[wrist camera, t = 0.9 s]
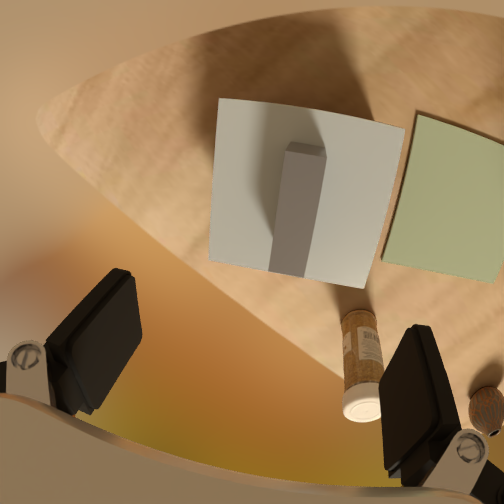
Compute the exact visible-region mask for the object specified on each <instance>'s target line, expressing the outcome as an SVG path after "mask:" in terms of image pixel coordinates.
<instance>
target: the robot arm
mask: <svg viewBox="0 0 504 504" xmlns="http://www.w3.org/2000/svg"><path fill="white" fill-rule="evenodd" d="M141 339H142V328H141V322H140V315H139V307H138V301H137V292H136V283H135V278H134V277H133V276H131V273H130V272H129V271H126V270H122V269H118V268H114V269H112V270H111V271H110V272H109V273H108V274H107V275H106V276H105V277H104V278H103V279H102V280H101V281H100V282H99V283H98V284H97V285H96V286H95V287H94V288H93V289H92V290H91V292H90V293H89V294H88V295H87V296H86V297H85V298H84V299H83V300H82V301H81V302H80V303H79V304H78V305H77V306H76V307H75V309H73V310H72V312H71V313H70V314H69V315H68V316H67V317H66V318H65V319H64V320H63V321H62V323H61V324H60V325H59V326H58V327H57V328H56V329H55V330H54V331H53V332H52V334H51V335H50V336H49V337H48V338H47V339H46V343H45V344H44V345H43V346H42V344H40V343H39V342H37V341H33V340H30V341H23V342H20V343H19V344H17V345H15V346H14V347H13V348H12V349H11V351H10V352H9V354H8V357H7V361H4V362H0V504H504V473H503V472H502V471H501V470H500V469H499V468H497V467H496V466H495V465H494V464H492V463H491V462H490V461H489V460H487V458H488V454H489V447H488V444H487V441H486V440H485V438H484V437H483V436H482V435H481V434H480V433H479V432H477V431H475V430H473V429H463V430H462V428H461V424H460V420H459V416H458V412H457V408H456V405H455V401H454V397H453V394H452V390H451V387H450V383H449V380H448V377H447V373H446V370H445V368H444V365H443V362H442V359H441V356H440V353H439V350H438V347H437V344H436V341H435V338H434V335H433V332H432V330H431V328H430V326H425V325H418V324H414V325H413V326H412V327H411V328H407V330H406V331H405V333H404V335H403V337H402V339H401V341H400V343H399V345H398V347H397V349H396V351H395V353H394V355H393V357H392V359H391V361H390V363H389V364H388V366H387V368H386V370H385V372H384V374H383V375H382V377H381V379H380V382H379V387H378V390H379V400H380V411H381V423H382V436H383V453H384V468H385V470H388V473H389V478H401V484H402V486H401V487H357V486H337V485H336V486H335V485H323V484H312V483H303V482H294V481H287V480H280V479H273V478H267V477H262V476H256V475H250V474H245V473H240V472H235V471H231V470H226V469H222V468H218V467H214V466H210V465H206V464H202V463H198V462H194V461H191V460H187V459H184V458H181V457H177V456H174V455H171V454H167V453H164V452H161V451H158V450H155V449H152V448H149V447H146V446H143V445H141V444H138V443H135V442H133V441H130V440H127V439H125V438H122V437H120V436H117V435H115V434H112V433H110V432H107V431H105V430H103V429H100V428H98V427H96V426H93V425H91V424H88V423H86V422H84V421H82V420H80V419H77V418H76V417H75V414H76V413H77V411H78V410H80V411H82V412H85V413H86V414H89V415H91V414H92V412H93V411H94V409H98V408H99V407H100V406H101V405H102V403H103V401H104V400H105V398H106V396H107V395H108V393H109V391H110V390H111V388H112V387H113V385H114V383H115V382H116V380H117V378H118V377H119V375H120V374H121V372H122V370H123V369H124V367H125V366H126V364H127V362H128V361H129V359H130V357H131V356H132V355H133V353H134V351H135V349H136V348H137V346H138V345H139V344H140V342H141Z"/></svg>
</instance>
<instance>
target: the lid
mask: <svg viewBox="0 0 504 504" xmlns="http://www.w3.org/2000/svg"><path fill="white" fill-rule="evenodd" d="M404 133H405V129H403V128H400V127H397V126H393V125H389V124H385V123H381V122H376V121H372V120H368V119H363V118H359V117H354V116H349V115H345V114H340V113H334V112H329V111H323V110H318V109H312V108H306V107H299V106H293V105H285V104H278V103H270V102H261V101H252V100H242V99H230V98H219V104H218V116H217V128H216V140H215V153H214V168H213V183H212V199H211V217H210V237H209V260H210V261H215V262H221V263H226V264H231V265H236V266H241V267H247V268H252V269H257V270H262V271H268V272H273V273H278V274H284V275H289V276H295V277H300V278H305V279H311V280H316V281H322V282H327V283H333V284H338V285H344V286H350V287H355V288H361V289H364V287H365V284H366V280H367V277H368V274H369V271H370V268H371V265H372V262H373V258H374V255H375V252H376V248H377V245H378V242H379V238H380V235H381V231H382V228H383V224H384V220H385V217H386V213H387V209H388V205H389V201H390V197H391V193H392V189H393V185H394V181H395V176H396V172H397V168H398V163H399V158H400V154H401V149H402V144H403V139H404Z"/></svg>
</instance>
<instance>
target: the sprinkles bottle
mask: <svg viewBox="0 0 504 504" xmlns="http://www.w3.org/2000/svg"><path fill="white" fill-rule="evenodd" d="M376 326H377V320H376V318H375V316H374V315H373V314H372V313H370V312H369V311H366V310H356V311H352V312H350V313H348V314H347V315H346V316H345V318H344V319H343V321H342V324H341V329H342V333H343V364H344V383H345V392H344V395H343V402H342V405H343V414H344V416H345V417H346V418H348V419H349V420H352V421H355V422H369V421H373V420H376V419H378V418H380V417H381V411H380V400H379V390H378V387H379V382H380V379H381V377H382V375H383V374H384V365H383V358H382V352H381V346H380V340H379V336H378V332H377V327H376Z"/></svg>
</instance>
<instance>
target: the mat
mask: <svg viewBox="0 0 504 504" xmlns="http://www.w3.org/2000/svg"><path fill="white" fill-rule="evenodd" d="M381 260H382V262H386V263H392V264H397V265H402V266H407V267H412V268H417V269H422V270H427V271H432V272H437V273H442V274H447V275H452V276H457V277H462V278H467V279H472V280H477V281H482V282H487V283H492V284H494V282H495V280H496V277H497V275H498V273H499V271H500V268H501V266H502V264H503V261H504V145H501V144H499V143H497V142H494V141H492V140H490V139H487V138H485V137H482V136H480V135H477V134H474V133H472V132H469V131H466V130H464V129H461V128H458V127H455V126H453V125H450V124H447V123H444V122H441V121H438V120H435V119H431V118H428V117H425V116H422V115H418V114H417V118H416V123H415V129H414V134H413V139H412V144H411V149H410V154H409V158H408V163H407V167H406V172H405V176H404V180H403V185H402V189H401V193H400V197H399V200H398V204H397V208H396V212H395V215H394V219H393V223H392V226H391V230H390V233H389V237H388V240H387V243H386V247H385V250H384V253H383V256H382V259H381Z"/></svg>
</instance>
